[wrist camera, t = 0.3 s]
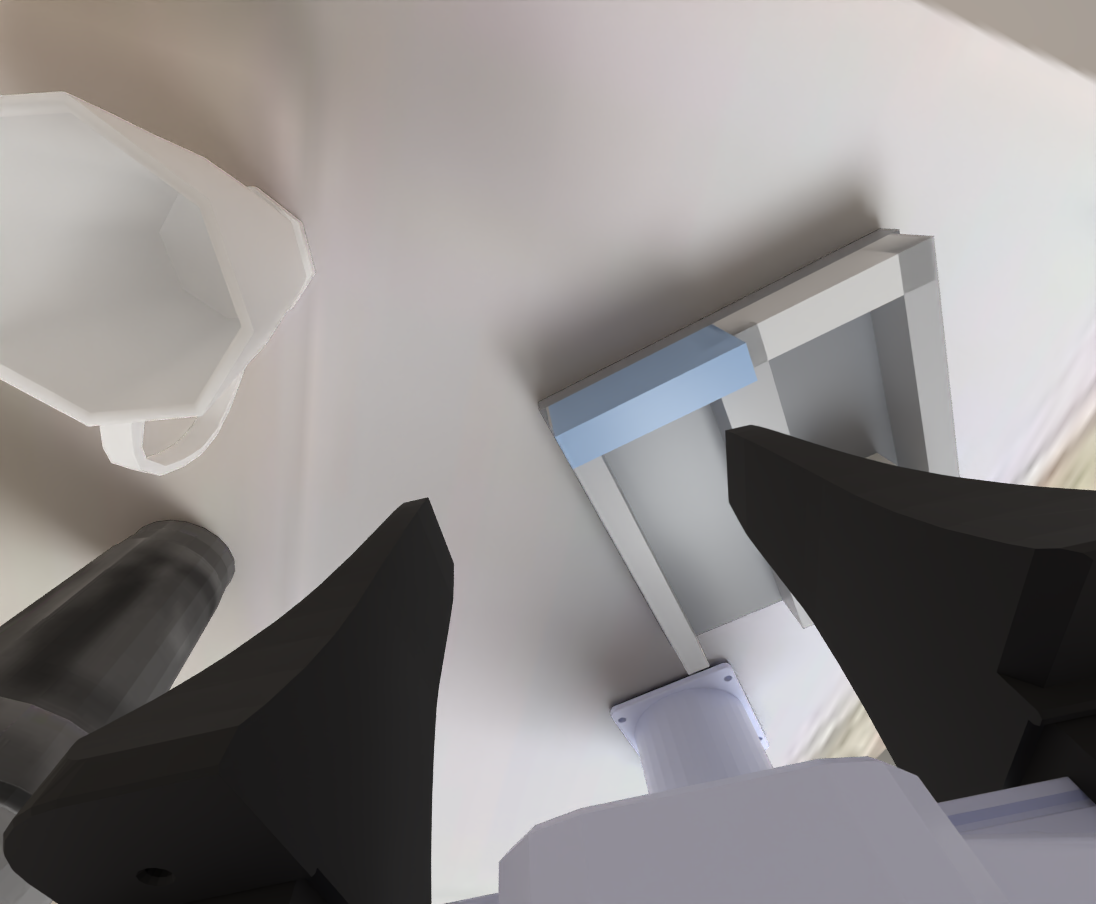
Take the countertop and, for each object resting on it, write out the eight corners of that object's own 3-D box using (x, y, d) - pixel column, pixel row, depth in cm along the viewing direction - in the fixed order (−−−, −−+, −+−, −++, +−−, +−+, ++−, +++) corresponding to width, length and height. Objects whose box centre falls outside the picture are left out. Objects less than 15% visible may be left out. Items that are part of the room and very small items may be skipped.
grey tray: (926, 523, 26) (994, 574, 22) (665, 632, 28) (689, 694, 24) (880, 228, 19) (968, 233, 15) (538, 402, 21) (544, 441, 17)
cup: (368, 183, 17) (265, 162, 10) (328, 434, 21) (236, 553, 14) (140, 101, 15) (-184, 4, 8) (145, 389, 19) (-68, 495, 12)
